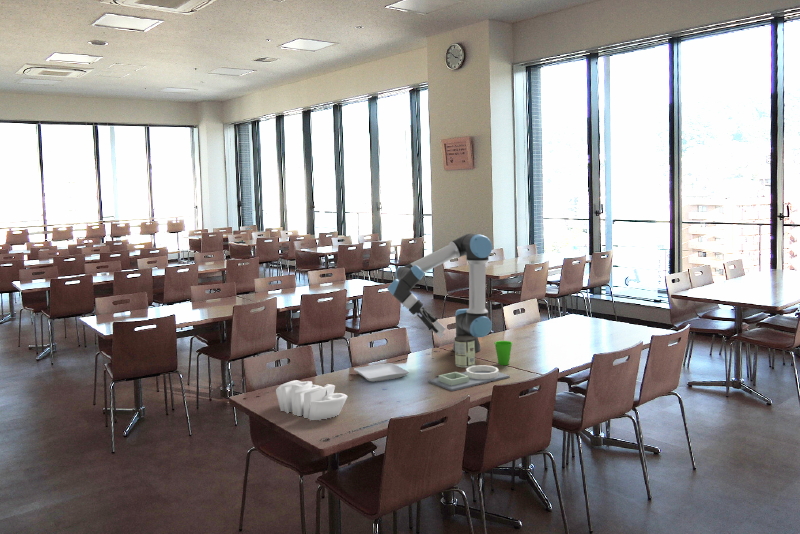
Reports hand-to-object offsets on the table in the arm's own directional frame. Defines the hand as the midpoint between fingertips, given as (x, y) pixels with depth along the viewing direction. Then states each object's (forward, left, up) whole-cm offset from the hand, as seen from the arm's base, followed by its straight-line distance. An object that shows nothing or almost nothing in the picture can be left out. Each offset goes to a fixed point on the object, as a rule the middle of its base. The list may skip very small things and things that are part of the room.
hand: (443, 333), depth 341 cm
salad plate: (-3, -36, -17) cm, 40 cm away
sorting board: (+29, -7, -16) cm, 34 cm away
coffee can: (+7, +8, -16) cm, 20 cm away
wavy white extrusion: (+23, -86, -17) cm, 90 cm away
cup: (+18, +24, -16) cm, 34 cm away
